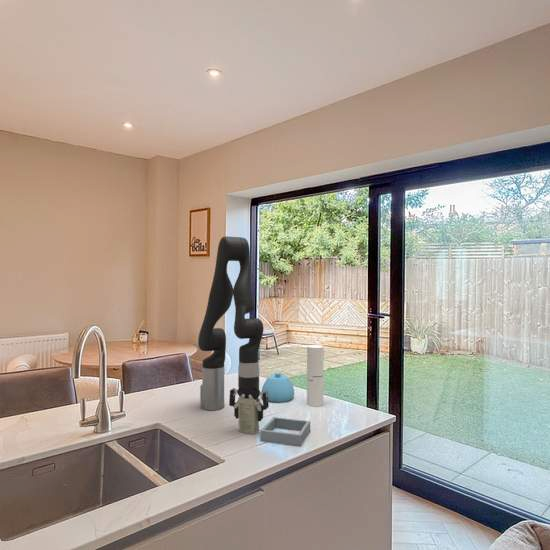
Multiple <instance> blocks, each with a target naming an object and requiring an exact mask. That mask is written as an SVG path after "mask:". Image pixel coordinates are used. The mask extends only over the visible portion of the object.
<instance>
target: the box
mask: <svg viewBox="0 0 550 550" xmlns="http://www.w3.org/2000/svg"><path fill="white" fill-rule="evenodd" d="M275 428H276V429H283V430H292V431H299V433H292V432H285V431H278V430H277V431H276V430H275ZM259 430H260V432H259V433H260V439H259V440H260V442H266V443H272V444H274V443H275V444H279V445H289V446H295V447H302V445H303V444H304V442H305V440H306V439H307V437H308V435H309V433H310V432H311V420H304V419H303V420H302V419H294V418H286V417H275V416H273V417H272V418H271V419H270V420H269V421H268V422H267V423H266V424H264V426H263V427H261V429H259Z"/></svg>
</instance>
